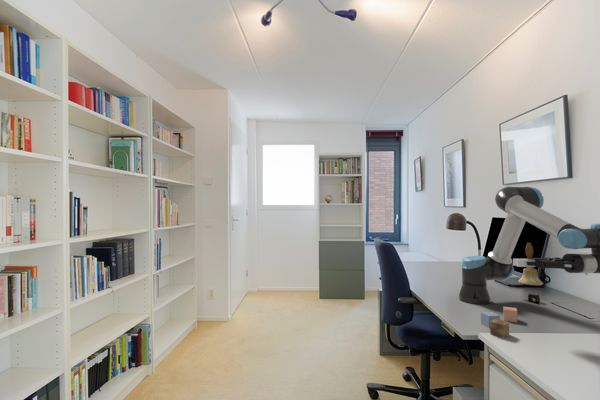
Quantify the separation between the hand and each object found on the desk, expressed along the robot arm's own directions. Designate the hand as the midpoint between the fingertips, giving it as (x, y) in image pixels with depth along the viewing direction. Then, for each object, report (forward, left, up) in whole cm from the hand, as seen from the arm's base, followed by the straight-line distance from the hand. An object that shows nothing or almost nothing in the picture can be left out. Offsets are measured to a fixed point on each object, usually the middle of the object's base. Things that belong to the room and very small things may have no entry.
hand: (515, 262), depth 132 cm
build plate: (-24, +54, -29) cm, 66 cm away
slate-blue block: (-10, -1, -28) cm, 30 cm away
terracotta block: (-11, +14, -28) cm, 33 cm away
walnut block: (-2, -7, -28) cm, 29 cm away
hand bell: (+3, +5, -8) cm, 10 cm away
